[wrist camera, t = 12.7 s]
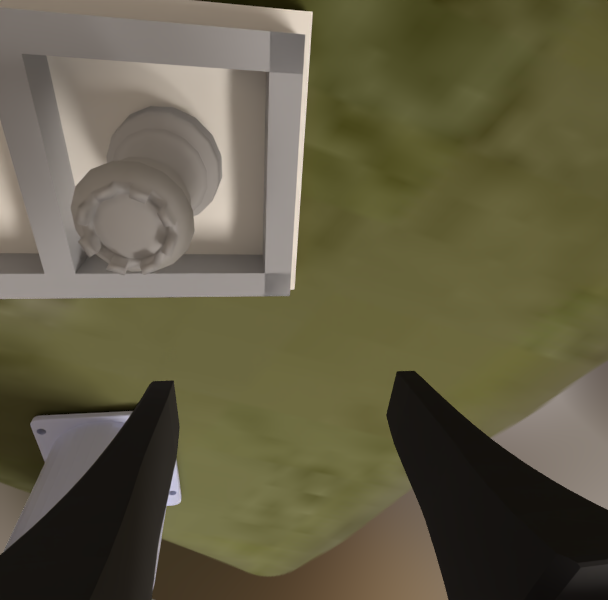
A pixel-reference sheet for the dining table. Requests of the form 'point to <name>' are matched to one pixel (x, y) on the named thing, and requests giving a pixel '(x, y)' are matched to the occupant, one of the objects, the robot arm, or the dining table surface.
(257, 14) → the pocket tray
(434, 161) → the dining table surface
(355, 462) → the dining table surface
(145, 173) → the rook chess piece
